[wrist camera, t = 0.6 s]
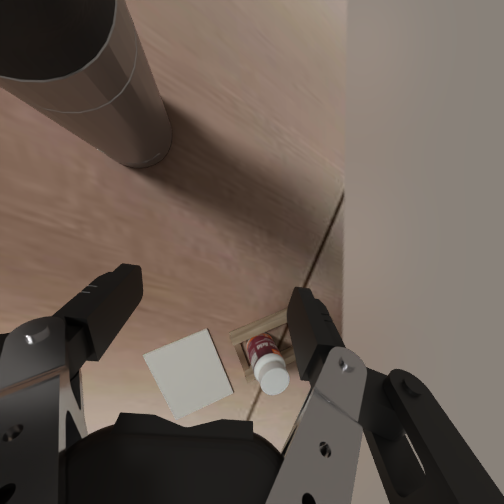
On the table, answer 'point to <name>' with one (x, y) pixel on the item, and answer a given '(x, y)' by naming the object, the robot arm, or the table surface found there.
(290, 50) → the table surface
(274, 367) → the pill bottle
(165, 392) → the mat
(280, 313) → the wooden rectangular frame
